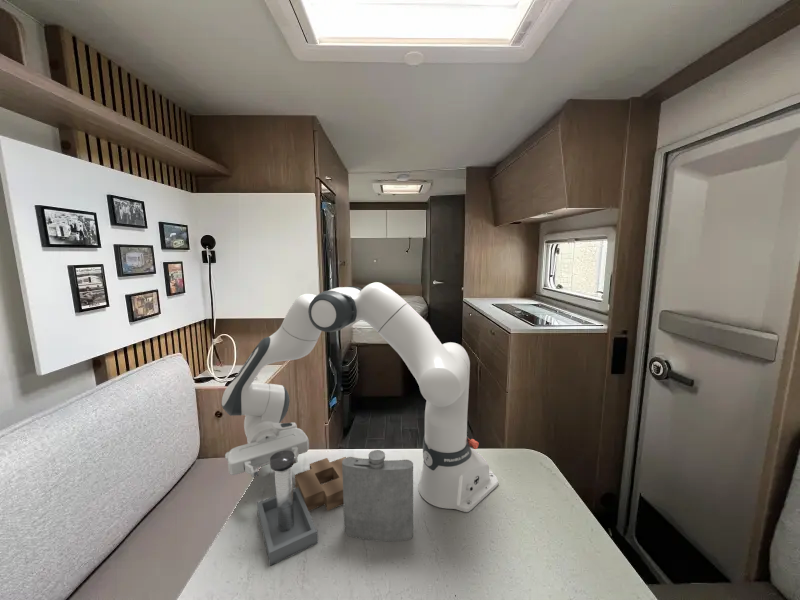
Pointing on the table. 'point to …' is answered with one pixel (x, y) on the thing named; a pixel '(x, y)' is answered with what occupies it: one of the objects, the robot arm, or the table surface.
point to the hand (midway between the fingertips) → (275, 467)
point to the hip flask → (378, 498)
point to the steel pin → (284, 488)
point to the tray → (289, 541)
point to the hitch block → (326, 492)
